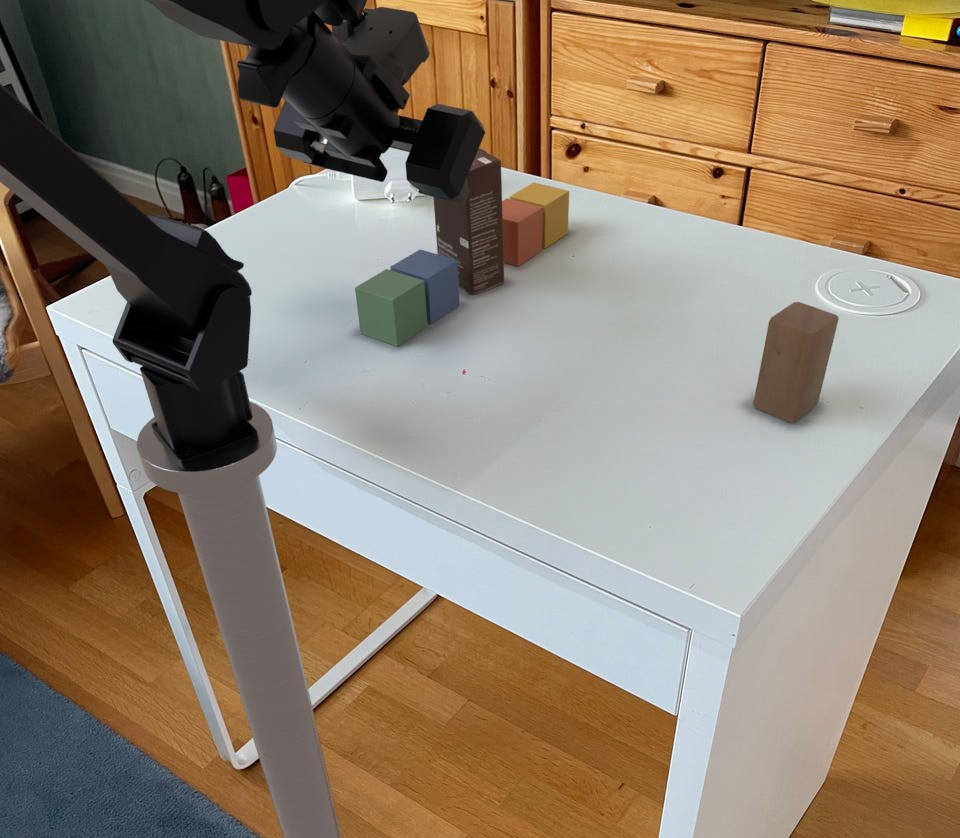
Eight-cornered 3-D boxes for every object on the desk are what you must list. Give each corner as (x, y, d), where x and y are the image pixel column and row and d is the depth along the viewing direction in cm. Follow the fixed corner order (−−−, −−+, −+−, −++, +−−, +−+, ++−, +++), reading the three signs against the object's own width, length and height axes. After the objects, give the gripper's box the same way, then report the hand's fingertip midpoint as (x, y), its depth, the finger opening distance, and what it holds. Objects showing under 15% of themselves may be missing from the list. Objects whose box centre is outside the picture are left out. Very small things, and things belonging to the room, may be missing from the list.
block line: (397, 346, 90) (393, 300, 86) (360, 333, 91) (354, 287, 88) (568, 233, 106) (569, 190, 102) (533, 224, 108) (533, 182, 104)
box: (435, 276, 99) (427, 150, 91) (472, 264, 101) (467, 139, 93) (469, 298, 96) (464, 169, 87) (506, 284, 98) (505, 157, 89)
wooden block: (750, 408, 81) (767, 316, 75) (777, 388, 83) (795, 298, 77) (793, 426, 79) (814, 333, 73) (819, 405, 81) (841, 314, 75)
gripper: (466, -10, 68) (549, 117, 82) (273, -38, 76) (379, 82, 90) (403, 144, 69) (496, 243, 83) (220, 101, 77) (332, 198, 91)
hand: (424, 186), depth 87 cm, fingers open, 9 cm apart
